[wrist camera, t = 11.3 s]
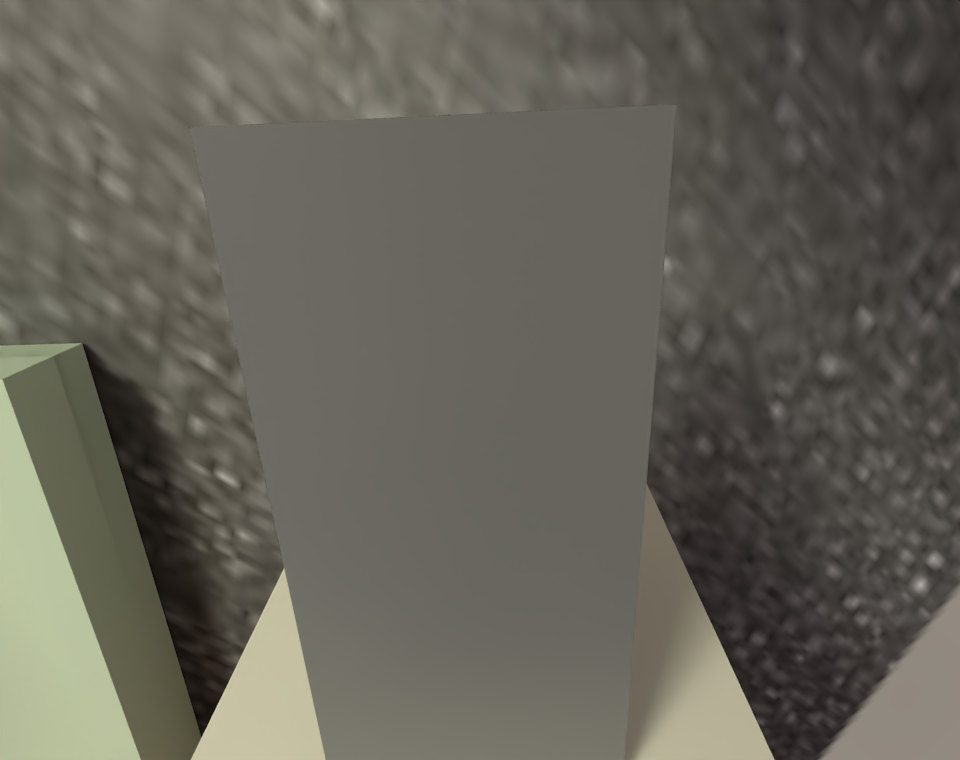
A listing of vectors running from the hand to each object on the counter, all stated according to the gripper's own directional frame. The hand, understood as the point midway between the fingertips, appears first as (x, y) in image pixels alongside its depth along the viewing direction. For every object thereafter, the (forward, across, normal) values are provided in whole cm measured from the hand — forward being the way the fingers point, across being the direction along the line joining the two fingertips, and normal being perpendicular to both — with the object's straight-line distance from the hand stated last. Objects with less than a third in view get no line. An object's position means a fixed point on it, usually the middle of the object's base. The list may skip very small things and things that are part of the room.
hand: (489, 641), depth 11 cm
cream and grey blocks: (+1, 0, -2) cm, 2 cm away
